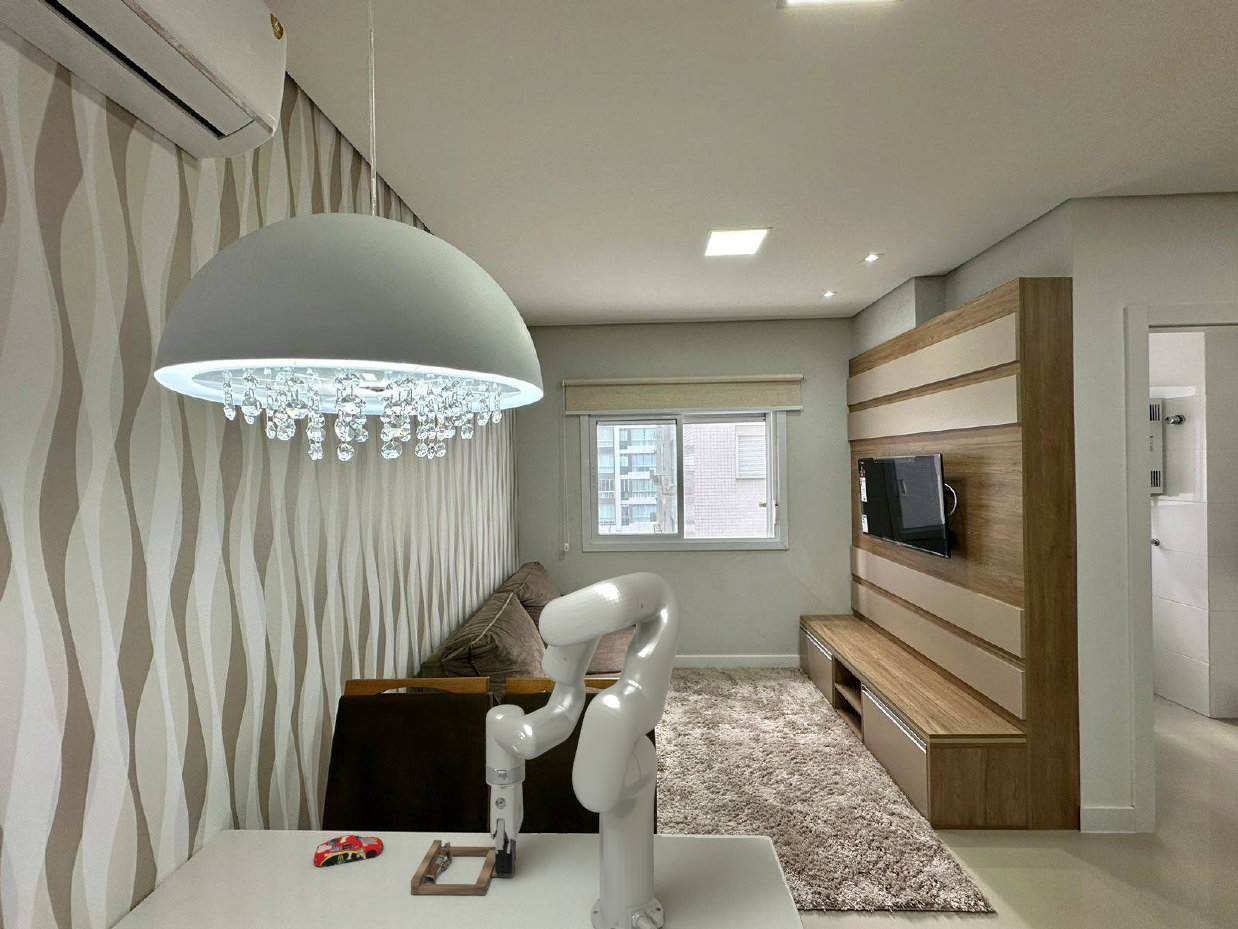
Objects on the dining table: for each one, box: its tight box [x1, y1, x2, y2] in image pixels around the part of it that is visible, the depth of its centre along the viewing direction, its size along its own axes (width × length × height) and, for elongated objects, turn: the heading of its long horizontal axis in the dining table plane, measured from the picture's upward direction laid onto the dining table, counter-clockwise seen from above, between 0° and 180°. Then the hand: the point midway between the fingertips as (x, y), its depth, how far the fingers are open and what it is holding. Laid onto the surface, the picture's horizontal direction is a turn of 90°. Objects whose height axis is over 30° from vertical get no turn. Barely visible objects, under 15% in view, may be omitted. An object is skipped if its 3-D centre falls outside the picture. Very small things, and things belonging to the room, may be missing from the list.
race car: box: [313, 834, 384, 868], centre depth 139 cm, size 13×5×4 cm, turn 110°
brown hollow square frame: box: [410, 834, 516, 896], centre depth 132 cm, size 14×18×7 cm
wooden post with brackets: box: [425, 841, 453, 884], centre depth 133 cm, size 2×8×4 cm, turn 164°
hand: (505, 866), depth 132 cm, fingers closed on brown hollow square frame, 3 cm apart
